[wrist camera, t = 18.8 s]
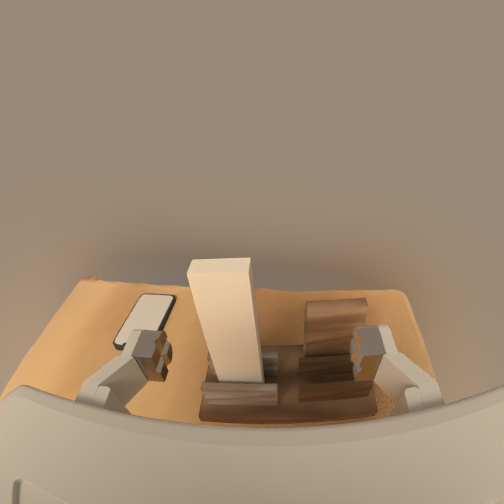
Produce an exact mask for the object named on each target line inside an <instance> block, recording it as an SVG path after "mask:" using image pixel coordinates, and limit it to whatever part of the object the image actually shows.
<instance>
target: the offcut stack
mask: <svg viewBox="0 0 504 504" xmlns="http://www.w3.org/2000/svg"><path fill="white" fill-rule="evenodd" d="M367 308H368V304H367V301H366V298H357V299H342V300H326V301H306V310H305V324H304V346H303V353H304V357H321V356H335V355H347V354H350V342H351V340H352V339H353V334H352V333H353V329H354V327H363V325H364V321H365V317H366V312H367Z"/></svg>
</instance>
